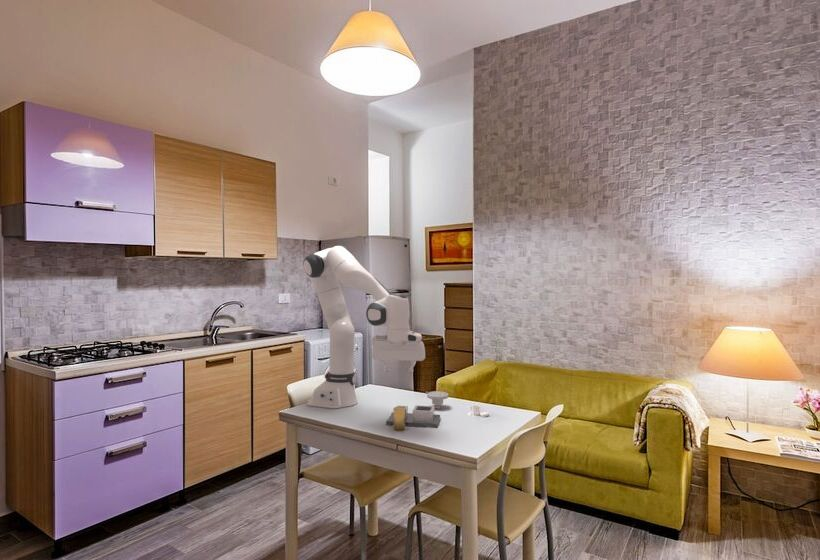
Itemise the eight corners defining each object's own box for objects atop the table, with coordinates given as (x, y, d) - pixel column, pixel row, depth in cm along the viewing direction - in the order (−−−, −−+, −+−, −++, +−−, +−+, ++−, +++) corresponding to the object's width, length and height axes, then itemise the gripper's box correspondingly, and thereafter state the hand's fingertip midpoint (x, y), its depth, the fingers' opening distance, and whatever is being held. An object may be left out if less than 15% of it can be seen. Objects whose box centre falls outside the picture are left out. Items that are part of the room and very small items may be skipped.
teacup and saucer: (491, 417, 191) (491, 407, 191) (476, 420, 187) (476, 410, 187) (478, 412, 199) (478, 402, 199) (463, 414, 195) (463, 405, 195)
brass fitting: (392, 430, 173) (392, 409, 173) (394, 427, 177) (394, 406, 177) (403, 431, 172) (403, 410, 172) (405, 427, 176) (406, 406, 176)
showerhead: (425, 389, 208) (447, 389, 208) (425, 405, 208) (447, 405, 208) (425, 394, 198) (449, 394, 198) (425, 410, 198) (449, 411, 198)
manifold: (386, 424, 179) (386, 410, 179) (392, 415, 191) (392, 402, 191) (437, 427, 176) (437, 413, 176) (440, 418, 188) (440, 405, 188)
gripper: (369, 336, 173) (370, 373, 173) (423, 337, 169) (423, 374, 169) (374, 334, 179) (374, 369, 179) (425, 334, 176) (426, 370, 176)
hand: (398, 372), depth 174 cm, fingers open, 8 cm apart
